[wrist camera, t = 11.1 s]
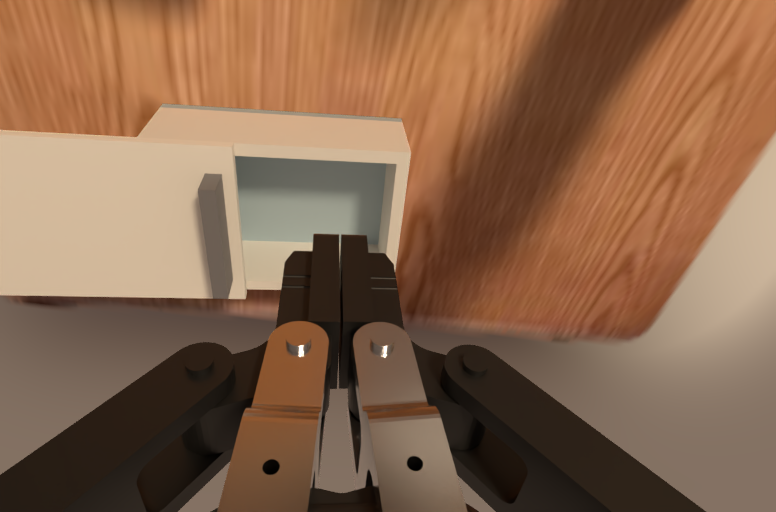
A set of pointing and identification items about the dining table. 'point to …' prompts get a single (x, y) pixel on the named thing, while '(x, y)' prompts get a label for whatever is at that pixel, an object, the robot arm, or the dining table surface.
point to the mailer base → (302, 178)
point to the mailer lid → (119, 217)
